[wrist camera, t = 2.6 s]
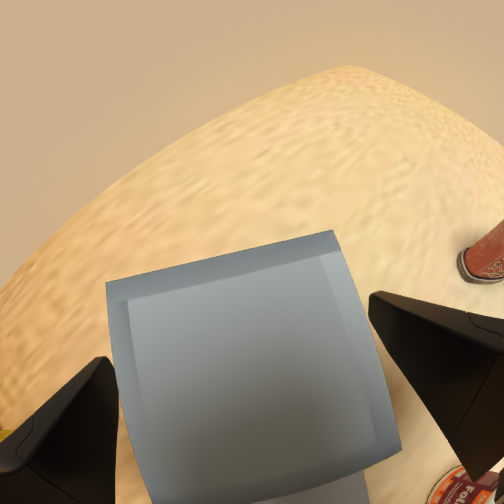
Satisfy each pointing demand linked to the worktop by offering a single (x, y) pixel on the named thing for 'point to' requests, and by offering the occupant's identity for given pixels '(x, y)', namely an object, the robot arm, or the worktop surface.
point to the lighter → (484, 259)
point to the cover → (249, 374)
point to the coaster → (329, 493)
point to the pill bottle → (464, 488)
